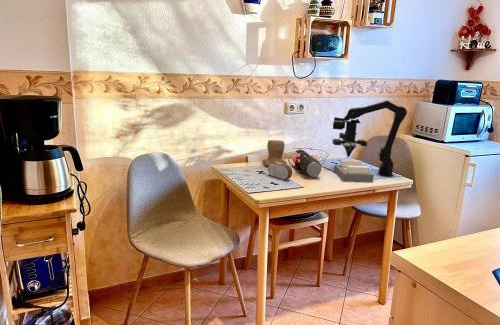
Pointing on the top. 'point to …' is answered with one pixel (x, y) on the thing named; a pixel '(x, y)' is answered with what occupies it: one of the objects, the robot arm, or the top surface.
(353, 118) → the robot arm
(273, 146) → the brown flared block
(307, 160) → the dark grey cylinder
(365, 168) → the toggle
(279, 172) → the brown grey oval slab
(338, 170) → the switch box
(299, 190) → the top surface
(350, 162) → the toggle
